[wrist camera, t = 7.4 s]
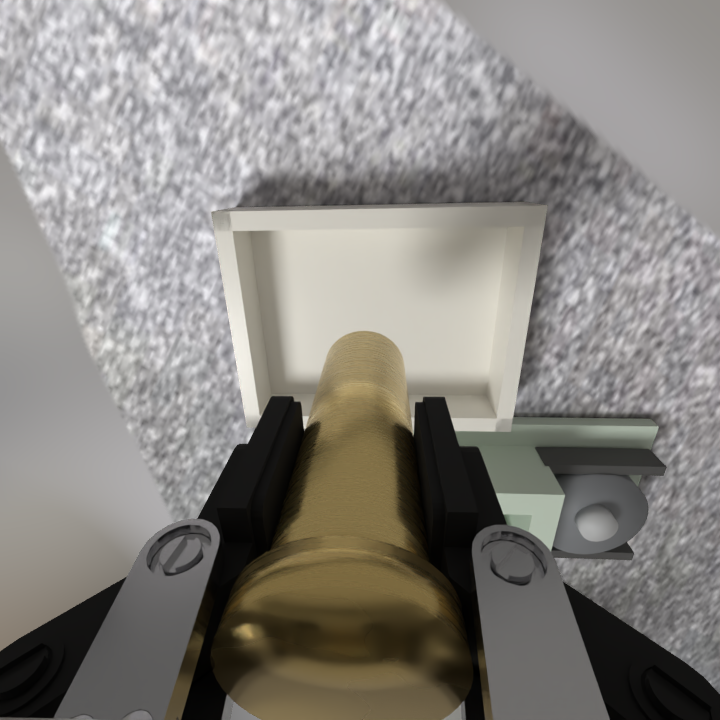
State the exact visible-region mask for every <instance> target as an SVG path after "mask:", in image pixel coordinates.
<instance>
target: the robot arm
mask: <svg viewBox="0 0 720 720" xmlns="http://www.w3.org/2000/svg"><path fill="white" fill-rule="evenodd" d="M303 435H304V426H303V416H302V406H301V402H300V401H294V398H293V396H272V397H271V398H270V400H269V402H268V404H267V406H266V408H265V410H264V412H263V414H262V416H261V418H260V420H259V422H258V424H257V426H256V428H255V431H254V433H253V435H252V437H251V439H250V441H249V443H248V444H239V445H237V446H236V448H235V449H234V451H233V453H232V454H231V456H230V458H229V460H228V462H227V464H226V466H225V468H224V470H223V471H222V473H221V475H220V477H219V479H218V481H217V483H216V485H215V486H214V488H213V490H212V492H211V494H210V496H209V498H208V500H207V501H206V503H205V505H204V507H203V509H202V511H201V513H200V515H199V517H198V518H197V519H187V520H181V521H178V522H176V523H173V524H171V525H168V526H167V527H165V528H163V529H162V530H160V531H158V532H157V533H156V534H155V535H154V536H153V537H151V538H150V539H149V540H148V541H147V542H146V544H145V545H144V547H143V548H142V550H141V551H140V553H139V555H138V557H137V559H136V561H135V562H134V565H133V566H132V569H131V570H130V572H129V574H128V576H127V577H125V578H124V579H122V580H120V581H119V582H117V583H115V584H113V585H111V586H110V587H108V588H106V589H105V590H103V591H101V592H99V593H98V594H96V595H94V596H93V597H91V598H89V599H87V600H85V601H84V602H82V603H81V604H79V605H77V606H75V607H73V608H72V609H70V610H68V611H67V612H65V613H63V614H61V615H60V616H58V617H56V618H54V619H52V620H51V621H49V622H47V623H45V624H44V625H42V626H40V627H38V628H37V629H35V630H33V631H31V632H30V633H28V634H26V635H24V636H23V637H21V638H19V639H18V640H16V641H15V642H13V643H12V644H10V645H9V646H7V647H6V648H4V649H3V650H2V651H0V720H230V718H231V712H232V707H233V702H234V701H233V700H232V699H231V698H230V697H229V696H228V695H227V694H226V692H225V691H224V690H223V689H222V687H221V686H220V684H219V683H218V681H217V680H216V677H215V675H214V672H213V670H212V665H211V648H212V644H213V640H214V637H215V635H216V632H217V629H218V626H219V623H220V621H221V618H222V615H223V612H224V609H225V607H226V604H227V601H228V598H229V595H230V593H231V590H232V587H233V585H234V583H235V581H236V579H237V577H238V576H239V574H240V573H241V572H242V571H243V569H244V568H245V567H246V566H247V565H248V564H249V563H251V562H252V561H253V560H254V559H255V558H257V557H258V556H260V555H261V554H263V553H265V552H267V551H269V550H270V547H271V544H272V540H273V537H274V533H275V530H276V527H277V523H278V520H279V516H280V513H281V510H282V506H283V503H284V499H285V496H286V493H287V489H288V486H289V482H290V479H291V475H292V472H293V469H294V465H295V462H296V458H297V455H298V452H299V448H300V445H301V441H302V438H303ZM414 444H415V451H416V459H417V467H418V474H419V482H420V490H421V497H422V505H423V512H424V520H425V528H426V535H427V543H428V551H429V558H430V563H431V564H432V565H433V566H434V567H436V568H437V569H438V570H439V571H440V572H441V573H443V575H444V576H445V577H446V578H447V579H448V580H449V581H450V583H451V584H452V586H453V587H454V589H455V591H456V592H457V594H458V597H459V599H460V602H461V606H462V611H463V617H464V622H465V627H466V632H467V638H468V643H469V648H470V653H471V659H472V664H473V682H472V685H471V688H470V691H469V693H468V695H467V696H466V698H465V700H464V701H463V702H462V703H461V717H462V720H720V694H719V693H718V692H717V691H716V690H715V689H714V688H713V687H712V685H711V684H710V683H709V682H708V681H707V680H706V679H705V678H704V677H703V676H702V675H700V674H699V673H698V672H697V671H695V670H694V669H693V668H692V667H690V666H689V665H688V664H686V663H685V662H684V661H682V660H681V659H679V658H678V657H676V656H674V655H673V654H671V653H670V652H668V651H667V650H665V649H664V648H662V647H661V646H659V645H658V644H656V643H655V642H653V641H652V640H650V639H649V638H647V637H646V636H644V635H643V634H641V633H640V632H638V631H637V630H635V629H634V628H632V627H631V626H629V625H628V624H626V623H625V622H623V621H622V620H620V619H619V618H617V617H615V616H614V615H612V614H611V613H609V612H608V611H606V610H605V609H603V608H602V607H600V606H599V605H597V604H596V603H594V602H593V601H591V600H590V599H588V598H587V597H585V596H584V595H582V594H581V593H579V592H578V591H576V590H575V589H573V588H572V587H570V586H569V585H567V584H566V583H564V582H563V581H562V578H561V575H560V572H559V569H558V566H557V563H556V561H555V559H554V557H553V555H552V553H551V551H550V550H549V548H548V547H547V546H546V545H545V544H544V543H543V542H542V541H541V540H540V539H538V538H537V537H536V536H534V535H533V534H531V533H530V532H528V531H525V530H523V529H521V528H518V527H514V526H509V525H507V523H506V520H505V517H504V515H503V512H502V509H501V506H500V504H499V501H498V498H497V496H496V493H495V490H494V487H493V485H492V482H491V479H490V476H489V474H488V471H487V468H486V465H485V463H484V460H483V457H482V455H481V452H480V450H479V448H478V447H477V446H459V444H458V440H457V437H456V433H455V430H454V427H453V423H452V420H451V416H450V413H449V410H448V406H447V403H446V399H445V397H423V402H415V416H414Z"/></svg>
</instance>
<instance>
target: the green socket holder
mask: <svg viewBox="0 0 720 720" xmlns="http://www.w3.org/2000/svg"><path fill="white" fill-rule="evenodd" d="M658 428H659V426H658V425H657V424H656V423H655V422H654V421H652V420H651V419H632V418H552V417H513V421H512V427H511V432H488V431H455V433H456V437H457V440H458V444H459V446H477V447H478V448H479V450H480V452H481V455H482V457H483V460H484V463H485V465H486V468H487V471H488V474H489V476H490V479H491V482H492V485H493V487H494V490H495V493H496V496H497V498H498V501H499V504H500V506H501V509H502V512H503V515H504V517H505V520H506V523H507V525H509V526H514V527H518V528H521V529H523V530H525V531H528V532H530V533H531V534H533V535H534V536H536V537H537V538H538V539H540V540H541V541H542V542H543V543H544V544H545V545H546V546H547V547H548V548H549V550H550V551H551V553H552V555H553V557H554V558H584V559H614V560H632V558H633V555H634V552H633V551H632V549H631V548H630V546H629V545H628V543H627V541H629V540H630V539H631V538H633V537H634V536H635V535H636V534H637V533H638V532H639V531H640V529H641V528H642V527H643V525H644V523H645V521H646V519H647V515H648V503H647V499H646V497H645V495H644V494H643V493H642V491H641V490H640V489H639V488H638V486H639V483H640V480H641V477H642V475H654V476H663V475H664V473H665V470H666V466H665V465H664V464H663V463H662V462H661V461H660V460H659V459H658V458H657V457H656V456H655V455H654V454H653V453H652V452H651V448H652V445H653V442H654V440H655V437H656V434H657V431H658ZM413 435H414V430H413Z"/></svg>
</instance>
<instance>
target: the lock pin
mask: <svg viewBox="0 0 720 720" xmlns="http://www.w3.org/2000/svg"><path fill="white" fill-rule="evenodd" d="M211 665H212V670H213V672H214V675H215V677H216V680H217V681H218V683H219V684H220V686H221V687H222V689H223V690H224V691H225V692H226V694H227V695H228V696H229V697H230V698H231V699H232V700H233V701H234V702H236V703H237V704H238V705H239V706H240V707H242V708H243V709H245V710H246V711H247V712H249V713H250V714H252V715H254V716H256V717H257V718H259V719H261V720H443V719H444V718H446V717H447V716H449V715H450V714H451V713H452V712H454V711H455V710H456V709H457V708H458V707H459V706H460V705H461V703H462V702H463V701H464V700H465V698H466V696H467V695H468V693H469V691H470V688H471V685H472V682H473V664H472V659H471V653H470V648H469V643H468V638H467V632H466V627H465V622H464V617H463V611H462V606H461V602H460V599H459V597H458V594H457V592H456V591H455V589H454V587H453V586H452V584H451V583H450V581H449V580H448V579H447V578H446V577H445V576H444V575H443V573H441V572H440V571H439V570H438V569H437V568H436V567H434V566H433V565H432V564H431V563H430V558H429V551H428V543H427V535H426V528H425V520H424V512H423V505H422V497H421V490H420V482H419V474H418V467H417V459H416V451H415V444H414V435H413V427H412V420H411V412H410V404H409V397H408V389H407V382H406V374H405V367H404V360H403V357H402V354H401V352H400V350H399V349H398V347H397V346H396V345H395V344H394V342H393V341H391V340H390V339H389V338H387V337H386V336H384V335H382V334H379V333H376V332H372V331H356V332H352V333H349V334H346V335H344V336H343V337H341V338H339V339H338V340H337V341H336V342H335V343H334V344H333V345H332V346H331V348H330V349H329V351H328V354H327V356H326V360H325V363H324V367H323V370H322V373H321V377H320V380H319V384H318V387H317V390H316V394H315V397H314V401H313V404H312V407H311V411H310V414H309V418H308V421H307V424H306V428H305V431H304V435H303V438H302V441H301V445H300V448H299V452H298V455H297V458H296V462H295V465H294V469H293V472H292V475H291V479H290V482H289V486H288V489H287V493H286V496H285V499H284V503H283V506H282V510H281V513H280V516H279V520H278V523H277V527H276V530H275V533H274V537H273V540H272V544H271V547H270V550H269V551H267V552H265V553H263V554H261V555H260V556H258V557H257V558H255V559H254V560H253V561H252V562H251V563H249V564H248V565H247V566H246V567H245V568H244V569H243V571H242V572H241V573H240V574H239V576H238V577H237V579H236V581H235V583H234V585H233V587H232V590H231V593H230V595H229V598H228V601H227V604H226V607H225V609H224V612H223V615H222V618H221V621H220V623H219V626H218V629H217V632H216V635H215V637H214V640H213V644H212V648H211Z"/></svg>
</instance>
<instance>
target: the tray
mask: <svg viewBox="0 0 720 720" xmlns="http://www.w3.org/2000/svg"><path fill="white" fill-rule="evenodd" d="M547 207H548V205H542V204H536V203H530V202H479V203H427V204H376V205H324V206H272V207H234V208H228V209H223V210H218V211H213V212H211V214H212V220H213V226H214V232H215V238H216V244H217V250H218V256H219V262H220V268H221V274H222V280H223V286H224V292H225V298H226V304H227V310H228V317H229V323H230V329H231V335H232V341H233V347H234V353H235V359H236V365H237V371H238V377H239V383H240V389H241V395H242V401H243V407H244V413H245V419H246V425H247V428H256V426H257V424H258V422H259V420H260V418H261V416H262V414H263V412H264V410H265V408H266V406H267V404H268V402H269V400H270V398H271V397H272V396H293V398H294V401H300V402H301V406H302V416H303V426H304V429H305V428H306V424H307V421H308V418H309V414H310V411H311V407H312V404H313V401H314V397H315V394H316V390H317V387H318V384H319V380H320V377H321V373H322V370H323V367H324V363H325V360H326V356H327V354H328V351H329V349H330V348H331V346H332V345H333V344H334V343H335V342H336V341H337V340H338V339H339V338H341V337H343V336H344V335H346V334H349V333H352V332H356V331H372V332H376V333H379V334H382V335H384V336H386V337H387V338H389V339H390V340H391V341H393V342H394V344H395V345H396V346H397V347H398V349H399V350H400V352H401V354H402V357H403V360H404V367H405V374H406V382H407V389H408V397H409V404H410V412H411V420H412V427H413V430H414V416H415V402H423V397H445V399H446V403H447V406H448V410H449V413H450V416H451V420H452V423H453V427H454V430H455V431H488V432H511V427H512V421H513V415H514V409H515V403H516V397H517V391H518V385H519V379H520V372H521V366H522V360H523V354H524V348H525V342H526V336H527V330H528V324H529V317H530V311H531V305H532V299H533V293H534V287H535V281H536V275H537V269H538V262H539V256H540V250H541V244H542V238H543V232H544V226H545V220H546V214H547Z"/></svg>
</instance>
